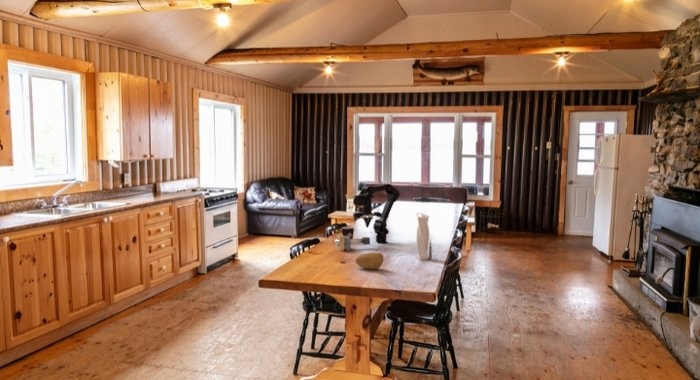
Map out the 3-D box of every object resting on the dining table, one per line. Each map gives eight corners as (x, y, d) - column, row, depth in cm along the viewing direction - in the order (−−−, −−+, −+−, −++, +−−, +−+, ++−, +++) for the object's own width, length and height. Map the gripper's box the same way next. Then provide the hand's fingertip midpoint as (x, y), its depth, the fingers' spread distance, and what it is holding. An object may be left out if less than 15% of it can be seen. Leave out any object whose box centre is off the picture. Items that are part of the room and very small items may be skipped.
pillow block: (347, 247, 307) (347, 235, 306) (350, 250, 298) (350, 238, 298) (342, 247, 306) (343, 235, 306) (346, 250, 298) (346, 238, 297)
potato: (358, 265, 262) (358, 249, 261) (385, 268, 256) (385, 251, 255) (353, 269, 253) (353, 252, 253) (380, 272, 248) (381, 255, 247)
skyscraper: (419, 261, 272) (419, 214, 270) (413, 258, 280) (414, 212, 277) (432, 260, 275) (433, 213, 272) (426, 257, 282) (427, 211, 280)
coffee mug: (354, 240, 329) (354, 226, 328) (353, 243, 321) (353, 229, 320) (338, 240, 331) (338, 226, 330) (336, 242, 322) (336, 228, 321)
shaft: (368, 243, 307) (368, 237, 307) (369, 244, 304) (369, 238, 303) (334, 244, 302) (334, 238, 302) (335, 245, 298) (335, 239, 298)
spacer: (341, 248, 306) (341, 233, 305) (344, 250, 298) (344, 236, 297) (337, 248, 305) (337, 234, 304) (339, 251, 297) (339, 236, 296)
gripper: (377, 202, 323) (377, 225, 325) (351, 203, 319) (351, 225, 320) (382, 204, 312) (381, 227, 314) (355, 205, 308) (354, 228, 310)
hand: (367, 227), depth 315 cm, fingers closed
